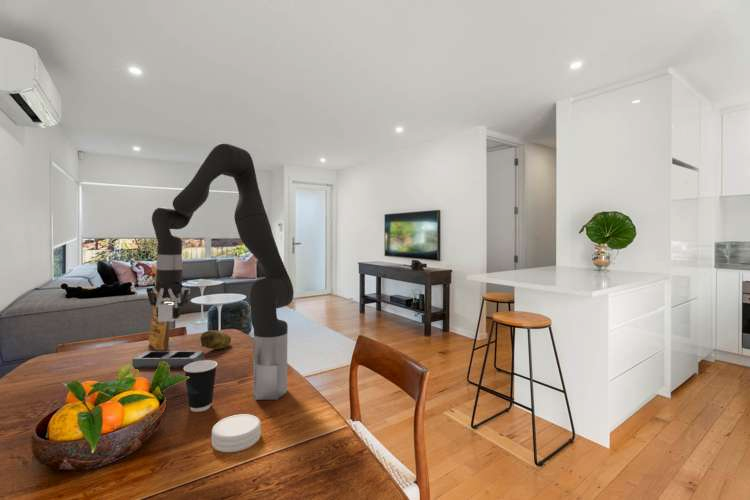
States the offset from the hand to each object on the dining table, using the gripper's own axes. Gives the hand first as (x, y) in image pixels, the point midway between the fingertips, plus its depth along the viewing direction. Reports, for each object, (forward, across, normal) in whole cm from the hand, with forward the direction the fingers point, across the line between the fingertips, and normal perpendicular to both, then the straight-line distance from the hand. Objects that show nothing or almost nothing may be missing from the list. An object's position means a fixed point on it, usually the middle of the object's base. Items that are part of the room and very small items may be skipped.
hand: (168, 317), depth 118 cm
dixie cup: (+16, +23, -29) cm, 41 cm away
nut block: (+1, 0, 0) cm, 1 cm away
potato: (+17, +9, +19) cm, 27 cm away
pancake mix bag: (+18, -15, +24) cm, 33 cm away
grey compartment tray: (+17, -1, +3) cm, 17 cm away
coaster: (+15, +37, -44) cm, 60 cm away
